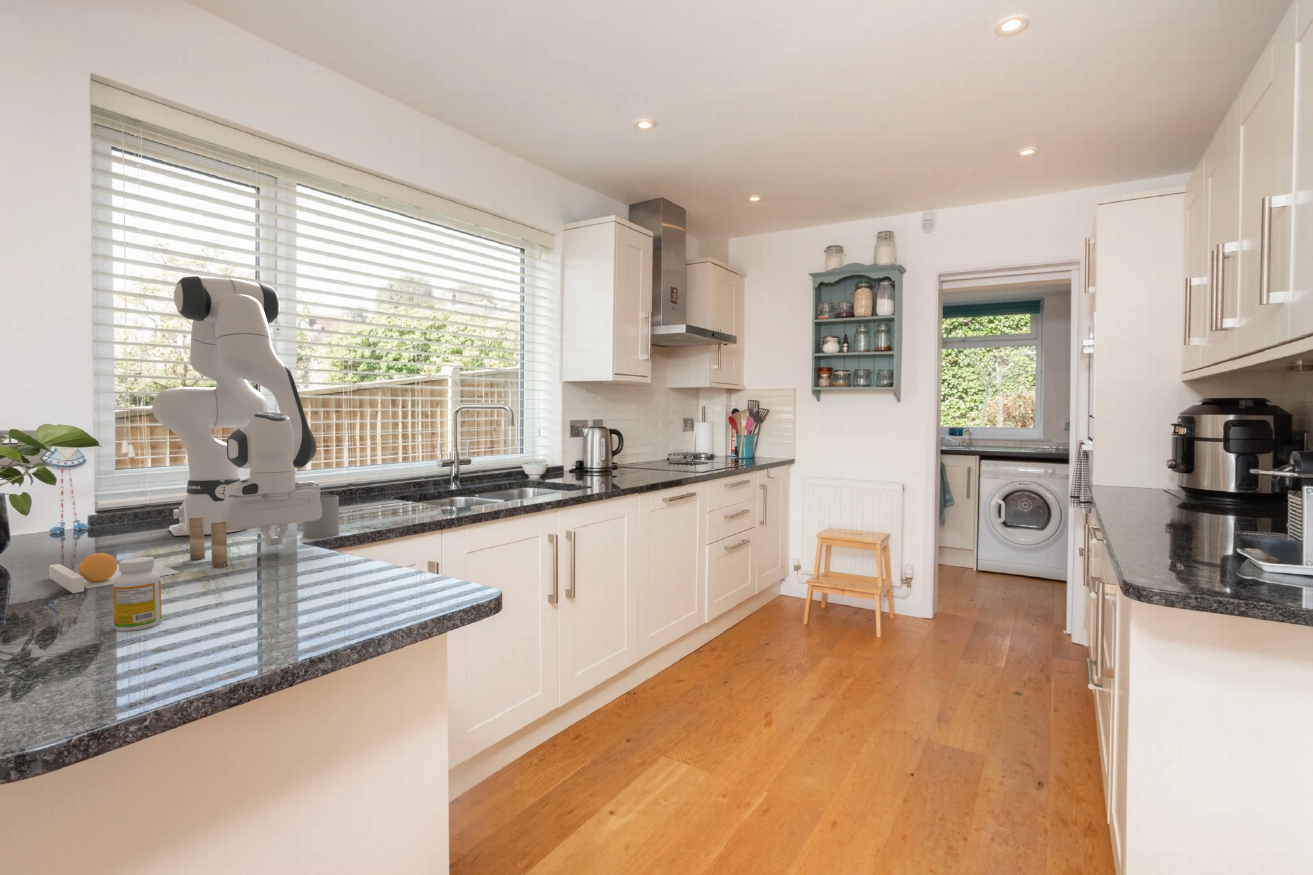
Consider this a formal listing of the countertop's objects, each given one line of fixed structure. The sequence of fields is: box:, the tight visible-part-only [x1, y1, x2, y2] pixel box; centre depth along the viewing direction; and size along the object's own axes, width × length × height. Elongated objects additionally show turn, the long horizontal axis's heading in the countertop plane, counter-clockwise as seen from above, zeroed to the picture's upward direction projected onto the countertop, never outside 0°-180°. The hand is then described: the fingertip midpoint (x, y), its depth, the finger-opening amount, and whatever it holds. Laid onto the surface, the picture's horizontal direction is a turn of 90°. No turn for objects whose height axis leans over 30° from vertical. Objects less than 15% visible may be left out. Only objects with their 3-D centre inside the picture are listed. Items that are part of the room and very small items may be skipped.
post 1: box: [189, 517, 206, 560], centre depth 140 cm, size 3×3×9 cm
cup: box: [302, 494, 340, 539], centre depth 168 cm, size 8×8×10 cm
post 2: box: [210, 522, 228, 568], centre depth 132 cm, size 3×3×9 cm
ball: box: [78, 552, 118, 582], centre depth 120 cm, size 5×5×5 cm
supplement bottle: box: [112, 556, 163, 632], centre depth 93 cm, size 5×5×10 cm
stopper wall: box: [48, 563, 85, 594], centre depth 118 cm, size 18×2×2 cm, turn 53°
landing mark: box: [84, 562, 181, 589], centre depth 125 cm, size 14×14×1 cm
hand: (274, 544), depth 146 cm, fingers closed
